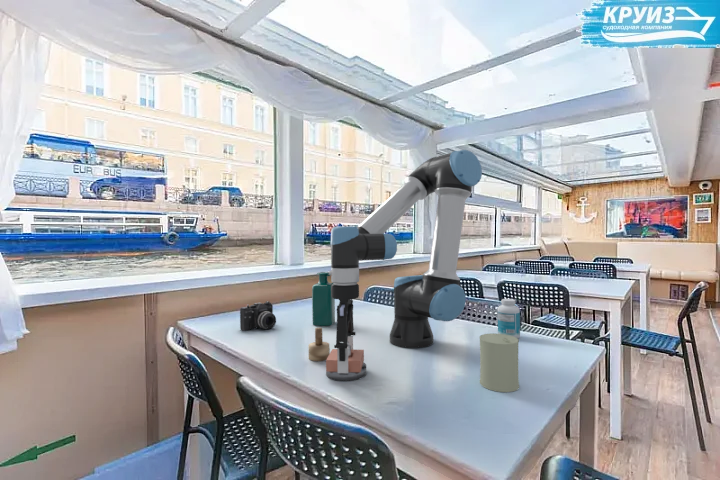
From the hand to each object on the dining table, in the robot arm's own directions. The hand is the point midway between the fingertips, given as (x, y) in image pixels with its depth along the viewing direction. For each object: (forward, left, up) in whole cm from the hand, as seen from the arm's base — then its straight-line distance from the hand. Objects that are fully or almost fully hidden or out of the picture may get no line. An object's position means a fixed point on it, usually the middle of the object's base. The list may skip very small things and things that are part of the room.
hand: (345, 365), depth 99 cm
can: (-39, +4, -2) cm, 39 cm away
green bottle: (+16, -55, -2) cm, 57 cm away
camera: (+41, -46, -3) cm, 62 cm away
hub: (0, -1, -2) cm, 2 cm away
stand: (+10, -13, -2) cm, 16 cm away
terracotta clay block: (0, 0, 0) cm, 0 cm away
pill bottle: (-54, -38, -2) cm, 66 cm away
